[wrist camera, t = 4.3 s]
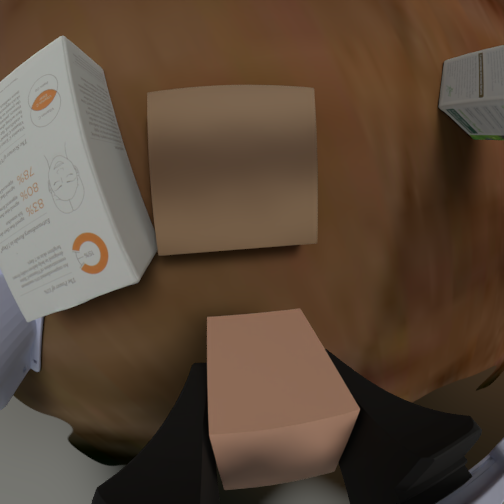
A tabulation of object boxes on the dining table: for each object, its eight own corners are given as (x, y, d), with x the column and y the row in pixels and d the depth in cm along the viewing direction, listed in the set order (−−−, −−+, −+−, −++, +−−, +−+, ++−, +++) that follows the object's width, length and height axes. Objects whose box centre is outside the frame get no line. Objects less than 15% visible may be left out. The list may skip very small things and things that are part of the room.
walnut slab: (301, 231, 19) (317, 243, 16) (166, 241, 18) (158, 256, 15) (297, 99, 16) (313, 87, 13) (157, 104, 15) (147, 92, 12)
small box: (17, 123, 13) (68, 283, 17) (-38, 116, 7) (25, 326, 11) (106, 67, 13) (163, 246, 17) (65, 30, 7) (140, 286, 11)
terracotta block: (295, 375, 13) (334, 471, 7) (216, 384, 13) (224, 489, 7) (300, 308, 12) (360, 409, 6) (207, 317, 11) (209, 434, 6)
